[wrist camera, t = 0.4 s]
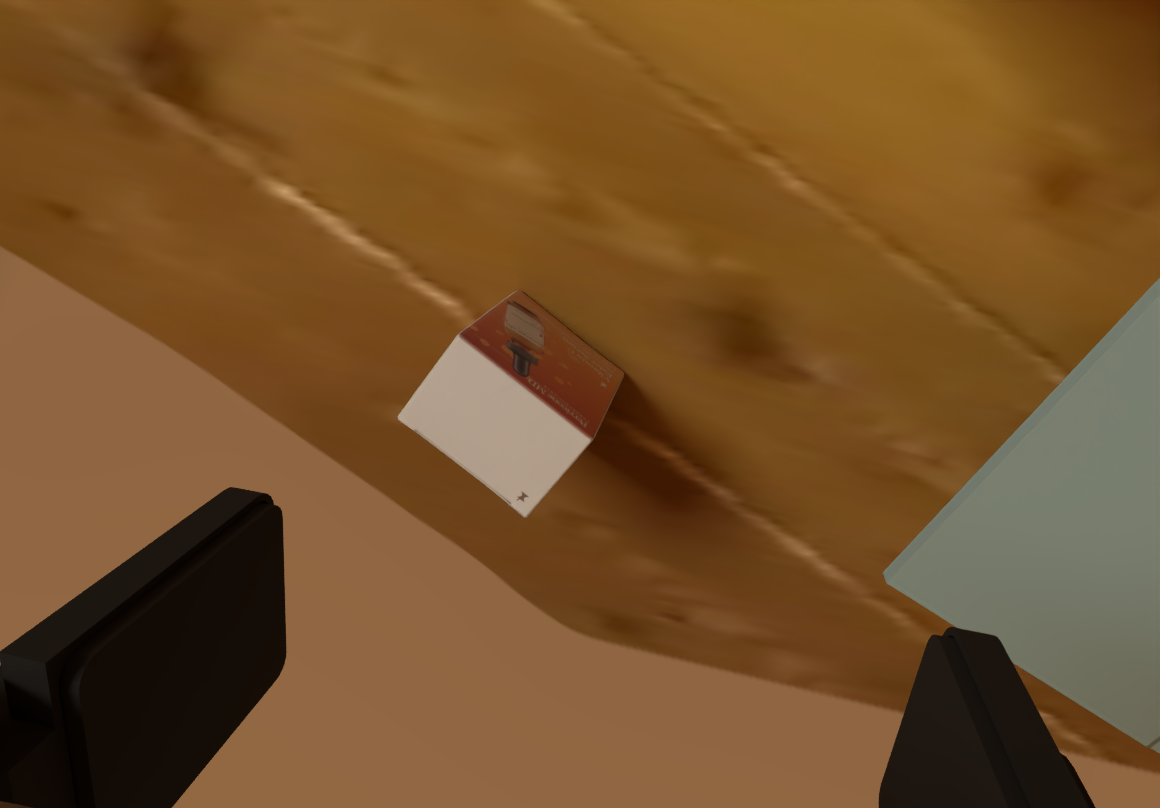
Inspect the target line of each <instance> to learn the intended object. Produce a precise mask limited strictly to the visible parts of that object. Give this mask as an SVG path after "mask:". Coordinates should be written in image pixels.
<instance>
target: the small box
mask: <svg viewBox="0 0 1160 808" xmlns="http://www.w3.org/2000/svg"><path fill="white" fill-rule="evenodd" d="M623 377H624V372H623V371H622V370H620V369H619V368H618V367H616V366H615V365H614V364H612V363H611V362H610V361H608V360H607V359H605V358H604V357H603V356H601V355H600V354H599V353H598V352H596V351H595V350H594V349H593V348H591V347H590V346H589V345H587V344H586V343H585V342H584V341H582V340H581V339H580V338H579V337H577V336H576V335H575V334H574V333H573V332H571V331H570V330H569V329H568V328H566V327H565V326H564V325H563V324H562V323H560V322H559V321H558V320H557V319H555V318H554V317H553V316H552V315H550V314H549V313H548V312H547V311H545V310H544V309H543V308H542V307H540V306H539V305H538V304H537V303H535V302H534V301H533V300H532V299H531V298H529V297H528V296H527V295H526V294H524V293H523V292H522V291H520V290H516V291H515V292H513V293H512V294H510V295H509V296H508V297H506V298H505V299H504V300H502V301H501V302H500V303H499V304H497V305H496V306H495V307H493V308H492V309H490V310H489V311H487V312H486V313H485V314H484V315H483V316H481V317H480V318H479V319H477V320H476V321H475V322H473V323H472V324H471V325H469V326H468V327H467V328H465V329H464V330H463V331H461V332H460V333H459V334H458V335H457V336H456V338H455V339H454V340H453V342H452V343H451V344H450V346H449V347H448V348H447V350H446V351H445V352H444V354H443V355H442V356H441V358H440V359H439V361H438V362H437V363H436V365H435V366H434V367H433V369H432V370H431V371H430V373H429V374H428V375H427V377H426V378H425V380H424V381H423V382H422V384H421V385H420V386H419V388H418V389H417V391H416V392H415V393H414V395H413V396H412V397H411V399H410V400H409V402H408V403H407V404H406V406H405V407H404V409H403V410H402V411H401V413H400V414H399V416H398V420H399V421H400V422H402V423H403V424H405V425H406V426H408V427H409V428H410V429H412V430H413V431H415V432H416V433H418V434H419V435H421V436H422V437H423V438H425V439H426V440H427V441H429V442H430V443H431V444H433V445H434V446H435V447H436V448H438V449H439V450H440V451H442V452H443V453H444V454H446V455H447V456H448V457H450V458H451V459H452V460H453V461H455V462H456V463H457V464H459V465H460V466H461V467H463V468H464V469H465V470H466V471H468V472H469V473H470V474H472V475H473V476H474V477H475V478H477V479H478V480H479V481H481V482H482V483H483V484H485V485H486V486H487V487H488V488H490V489H491V490H492V491H493V492H495V493H496V494H497V495H498V496H500V497H501V498H502V499H503V500H505V501H506V502H507V503H508V504H509V505H510V506H511V507H512V508H514V509H515V510H516V511H517V512H518V513H519V514H521V515H522V516H523V517H525V518H526V517H528V516H529V515H530V514H531V512H532V511H533V510H534V509H535V508H536V506H537V505H538V504H539V503H540V502H541V501H542V499H543V498H544V497H545V496H546V495H547V494H548V492H549V491H550V490H551V489H552V488H553V487H554V485H555V484H556V483H557V482H558V481H559V480H560V478H561V477H562V476H563V475H564V474H565V473H566V471H567V470H568V469H569V468H570V467H571V465H572V464H573V463H574V462H575V461H576V460H577V458H578V457H579V456H580V455H581V454H582V453H583V451H584V450H585V449H586V448H587V447H588V446H589V444H590V443H591V442H592V441H593V440H594V438H595V436H596V434H597V432H598V430H599V428H600V425H601V423H602V421H603V419H604V417H605V415H606V413H607V411H608V409H609V407H610V405H611V402H612V400H613V398H614V396H615V394H616V392H617V390H618V388H619V386H620V383H621V381H622V379H623Z"/></svg>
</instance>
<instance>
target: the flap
mask: <svg viewBox="0 0 1160 808" xmlns="http://www.w3.org/2000/svg"><path fill="white" fill-rule="evenodd" d="M883 574H884V577H885V580H886V583H887V584H889V585H890V586H892V587H894V588H895V589H897V590H898V591H900V592H902V593H903V594H905V595H906V596H908V597H910V598H911V599H913V600H914V601H916V602H917V603H919V604H921V605H922V606H924V607H925V608H927V609H929V610H930V611H932V612H933V613H935V614H936V615H938V616H940V617H941V618H943V619H944V620H946V621H948V622H949V623H951V624H952V625H954V626H956V627H957V628H960V629H965V630H970V631H975V632H981V633H986V634H991V635H994V636H997V637H998V638H999V640H1000V641H1001V642H1002V644H1003V646H1004V648H1005V650H1006V652H1007V654H1008V656H1009V658H1010V659H1011V661H1012V662H1013V663H1014V664H1016V665H1017V666H1019V667H1021V668H1022V669H1024V670H1025V671H1027V672H1028V673H1030V674H1032V675H1033V676H1035V677H1036V678H1038V679H1040V680H1041V681H1043V682H1044V683H1046V684H1047V685H1049V686H1051V687H1052V688H1054V689H1055V690H1057V691H1059V692H1060V693H1062V694H1063V695H1065V696H1067V697H1068V698H1070V699H1071V700H1073V701H1074V702H1076V703H1078V704H1079V705H1081V706H1082V707H1084V708H1086V709H1087V710H1089V711H1090V712H1092V713H1093V714H1095V715H1097V716H1098V717H1100V718H1101V719H1103V720H1105V721H1106V722H1108V723H1109V724H1111V725H1112V726H1114V727H1116V728H1117V729H1119V730H1120V731H1122V732H1124V733H1125V734H1127V735H1128V736H1130V737H1132V738H1133V739H1135V740H1136V741H1138V742H1139V743H1141V744H1143V745H1144V746H1146V747H1148V748H1151V749H1153V750H1155V751H1156V752H1158V753H1159V754H1160V278H1159V279H1158V280H1157V281H1156V282H1155V283H1154V284H1153V285H1152V286H1151V287H1150V288H1149V289H1148V291H1147V292H1146V293H1145V294H1144V295H1143V296H1142V297H1141V298H1140V299H1139V300H1138V301H1137V302H1136V303H1135V304H1134V305H1133V307H1132V308H1131V309H1130V310H1129V311H1128V312H1127V313H1126V314H1125V315H1124V316H1123V317H1122V318H1121V319H1120V320H1119V321H1118V323H1117V324H1116V325H1115V326H1114V327H1113V328H1112V329H1111V330H1110V331H1109V332H1108V333H1107V334H1106V335H1105V336H1104V337H1103V338H1102V340H1101V341H1100V342H1099V343H1098V344H1097V345H1096V346H1095V347H1094V348H1093V349H1092V350H1091V351H1090V352H1089V353H1088V354H1087V356H1086V357H1085V358H1084V359H1083V360H1082V361H1081V362H1080V363H1079V364H1078V365H1077V366H1076V367H1075V368H1074V369H1073V370H1072V371H1071V373H1070V374H1069V375H1068V376H1067V377H1066V378H1065V379H1064V380H1063V381H1062V382H1061V383H1060V384H1059V385H1058V386H1057V387H1056V389H1055V390H1054V391H1053V392H1052V393H1051V394H1050V395H1049V396H1048V397H1047V398H1046V399H1045V400H1044V401H1043V402H1042V403H1041V405H1040V406H1039V407H1038V408H1037V409H1036V410H1035V411H1034V412H1033V413H1032V414H1031V415H1030V416H1029V417H1028V418H1027V419H1026V420H1025V422H1024V423H1023V424H1022V425H1021V426H1020V427H1019V428H1018V429H1017V430H1016V431H1015V432H1014V433H1013V434H1012V435H1011V436H1010V438H1009V439H1008V440H1007V441H1006V442H1005V443H1004V444H1003V445H1002V446H1001V447H1000V448H999V449H998V450H997V451H996V452H995V453H994V455H993V456H992V457H991V458H990V459H989V460H988V461H987V462H986V463H985V464H984V465H983V466H982V467H981V468H980V469H979V471H978V472H977V473H976V474H975V475H974V476H973V477H972V478H971V479H970V480H969V481H968V482H967V483H966V484H965V485H964V487H963V488H962V489H961V490H960V491H959V492H958V493H957V494H956V495H955V496H954V497H953V498H952V499H951V500H950V501H949V502H948V504H947V505H946V506H945V507H944V508H943V509H942V510H941V511H940V512H939V513H938V514H937V515H936V516H935V517H934V518H933V520H932V521H931V522H930V523H929V524H928V525H927V526H926V527H925V528H924V529H923V530H922V531H921V532H920V533H919V534H918V536H917V537H916V538H915V539H914V540H913V541H912V542H911V543H910V544H909V545H908V546H907V547H906V548H905V549H904V550H903V551H902V553H901V554H900V555H899V556H898V557H897V558H896V559H895V560H894V561H893V562H892V563H891V564H890V565H889V566H888V567H887V569H886V570H885V571H884V572H883Z"/></svg>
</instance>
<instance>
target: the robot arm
mask: <svg viewBox="0 0 1160 808" xmlns="http://www.w3.org/2000/svg"><path fill="white" fill-rule="evenodd" d="M284 586H285V585H284V549H283V517H282V511H281V509H280V507H278V506H276V505H274V503H273V500H272V498H271V496H269V495H268V494H265V493H260V492H255V491H250V490H245V489H239V488H232V487H230V488H228V489H226V490H224V491H223V492H221V493H220V494H218V495H217V496H216V497H214V498H213V499H211V500H210V501H209V502H207V503H206V504H204V505H203V506H202V507H200V508H199V509H197V510H196V511H195V512H193V513H192V514H190V515H189V516H188V517H186V518H185V519H183V520H182V521H181V522H180V523H178V524H177V525H175V526H174V527H172V528H171V529H170V530H168V531H167V532H165V533H164V534H163V535H161V536H160V537H158V538H157V539H156V540H154V541H153V542H152V543H150V544H149V545H147V546H146V547H145V548H143V549H142V550H140V551H139V552H138V553H136V554H135V555H133V556H132V557H131V558H129V559H128V560H127V561H125V562H124V563H122V564H121V565H120V566H118V567H117V568H115V569H114V570H113V571H111V572H110V573H108V574H107V575H106V576H104V577H103V578H101V579H100V580H99V581H97V582H96V583H95V584H93V585H92V586H90V587H89V588H88V589H86V590H85V591H83V592H82V593H81V594H79V595H78V596H76V597H75V598H74V599H72V600H71V601H69V602H68V603H67V604H65V605H64V606H63V607H61V608H60V609H58V610H57V611H56V612H54V613H53V614H51V615H50V616H49V617H47V618H46V619H44V620H43V621H42V622H40V623H39V624H38V625H36V626H35V627H34V628H32V629H31V630H29V631H28V632H26V633H25V634H24V635H22V636H21V637H19V638H18V639H17V640H15V641H14V642H13V643H11V644H10V645H8V646H7V647H6V648H4V649H3V650H1V651H0V662H1V666H0V808H172V807H173V805H174V804H175V803H176V802H177V800H178V799H179V798H180V797H181V796H182V795H183V793H184V792H185V791H186V790H187V788H188V787H189V786H190V785H191V784H192V782H193V781H194V780H195V778H196V777H197V776H198V775H199V774H200V772H201V771H202V770H203V769H204V768H205V766H206V765H207V764H208V763H209V762H210V760H211V759H212V758H213V757H214V755H215V754H216V753H217V752H218V751H219V749H220V748H221V747H222V746H223V744H224V743H225V742H226V741H227V739H228V738H229V737H230V736H231V735H232V733H233V732H234V731H235V730H236V728H237V727H238V726H239V725H240V724H241V722H242V721H243V720H244V719H245V717H246V716H247V715H248V714H249V713H250V711H251V710H252V709H253V708H254V706H255V705H256V704H257V703H258V702H259V700H260V699H261V698H262V697H263V695H264V694H265V693H266V692H267V691H268V689H269V688H270V687H271V686H272V684H273V683H274V682H275V681H276V680H277V678H278V677H279V675H280V673H281V671H282V669H283V666H284V663H285V659H286V623H285V587H284ZM879 808H1095V806H1094V804H1093V802H1092V800H1091V798H1090V797H1089V795H1088V793H1087V791H1086V789H1085V787H1084V786H1083V784H1082V782H1081V780H1080V778H1079V776H1078V775H1077V772H1076V771H1075V769H1074V767H1073V766H1072V764H1071V763H1070V762H1069V760H1068V759H1067V758H1066V756H1064V755H1062V754H1061V753H1060V752H1059V750H1058V748H1057V746H1056V744H1055V742H1054V740H1053V739H1052V737H1051V735H1050V733H1049V731H1048V729H1047V727H1046V725H1045V723H1044V722H1043V720H1042V718H1041V716H1040V714H1039V712H1038V710H1037V708H1036V706H1035V705H1034V703H1033V701H1032V699H1031V697H1030V695H1029V693H1028V691H1027V690H1026V688H1025V686H1024V684H1023V682H1022V680H1021V678H1020V676H1019V674H1018V673H1017V671H1016V669H1015V667H1014V665H1013V663H1012V661H1011V659H1010V658H1009V656H1008V654H1007V652H1006V650H1005V648H1004V646H1003V644H1002V642H1001V641H1000V640H999V638H998V637H997V636H994V635H991V634H986V633H981V632H975V631H970V630H965V629H960V628H955V627H950V628H948V629H947V630H946V631H945V632H944V634H943V636H939V635H932V636H931V637H930V638H929V640H928V643H927V645H926V648H925V651H924V654H923V657H922V661H921V664H920V667H919V670H918V673H917V676H916V679H915V682H914V685H913V688H912V691H911V694H910V697H909V700H908V703H907V706H906V709H905V713H904V716H903V719H902V722H901V725H900V728H899V731H898V734H897V737H896V740H895V743H894V746H893V750H892V752H891V756H890V758H889V761H888V765H887V768H886V771H885V774H884V777H883V780H882V783H881V787H880V793H879Z"/></svg>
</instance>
